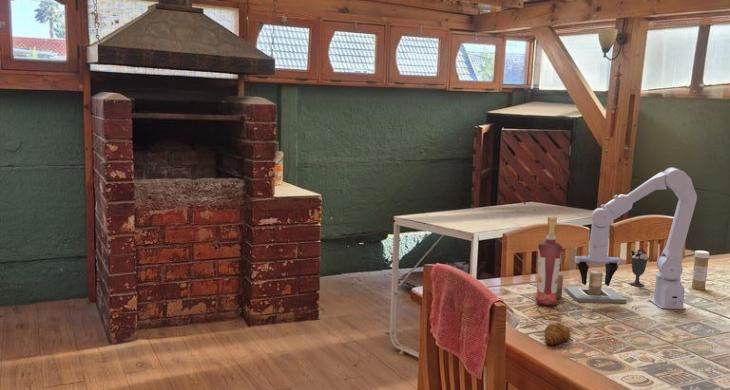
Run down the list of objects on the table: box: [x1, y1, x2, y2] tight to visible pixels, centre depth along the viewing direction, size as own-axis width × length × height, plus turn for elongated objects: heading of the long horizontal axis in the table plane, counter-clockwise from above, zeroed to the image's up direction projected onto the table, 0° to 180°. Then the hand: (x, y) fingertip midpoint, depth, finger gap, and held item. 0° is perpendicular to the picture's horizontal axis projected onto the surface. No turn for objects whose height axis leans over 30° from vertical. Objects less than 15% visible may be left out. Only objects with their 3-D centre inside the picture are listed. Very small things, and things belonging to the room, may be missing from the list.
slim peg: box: [587, 271, 603, 296], centre depth 213 cm, size 4×4×8 cm
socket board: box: [564, 286, 627, 304], centre depth 213 cm, size 13×16×1 cm
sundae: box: [629, 244, 651, 288], centre depth 228 cm, size 7×7×15 cm
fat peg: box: [556, 273, 564, 299], centre depth 213 cm, size 7×7×7 cm
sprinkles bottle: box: [691, 249, 710, 291], centre depth 227 cm, size 5×5×13 cm
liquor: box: [534, 216, 563, 307], centre depth 202 cm, size 7×7×28 cm
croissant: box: [544, 322, 571, 347], centre depth 172 cm, size 14×7×5 cm, turn 146°
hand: (595, 284), depth 213 cm, fingers open, 7 cm apart
